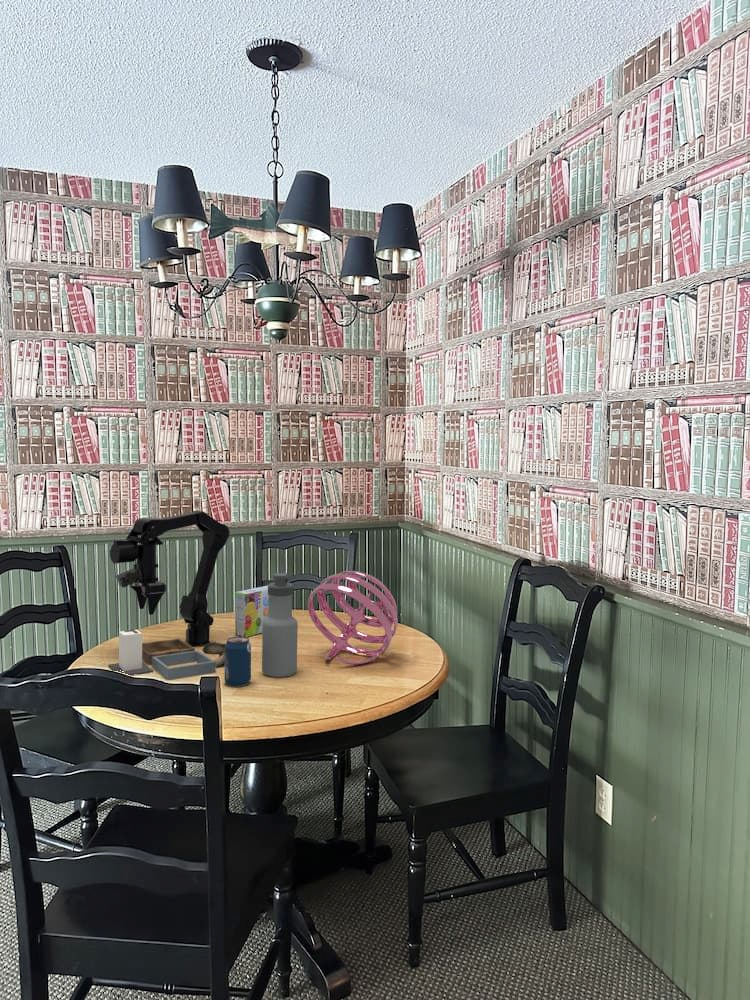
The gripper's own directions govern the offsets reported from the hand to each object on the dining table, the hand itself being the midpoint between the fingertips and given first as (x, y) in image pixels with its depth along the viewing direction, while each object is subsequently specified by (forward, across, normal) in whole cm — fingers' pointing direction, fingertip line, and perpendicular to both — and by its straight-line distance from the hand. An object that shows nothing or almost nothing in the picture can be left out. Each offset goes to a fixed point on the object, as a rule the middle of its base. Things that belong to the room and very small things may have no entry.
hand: (146, 611), depth 220 cm
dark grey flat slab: (+13, +13, -8) cm, 20 cm away
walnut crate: (+13, +5, +4) cm, 14 cm away
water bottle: (+13, +37, +26) cm, 47 cm away
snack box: (+13, -9, +43) cm, 46 cm away
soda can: (+13, +40, +12) cm, 44 cm away
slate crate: (+13, +21, +4) cm, 25 cm away
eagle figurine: (+13, +20, +15) cm, 29 cm away
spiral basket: (+13, +36, +52) cm, 65 cm away
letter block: (+12, +13, -8) cm, 20 cm away
